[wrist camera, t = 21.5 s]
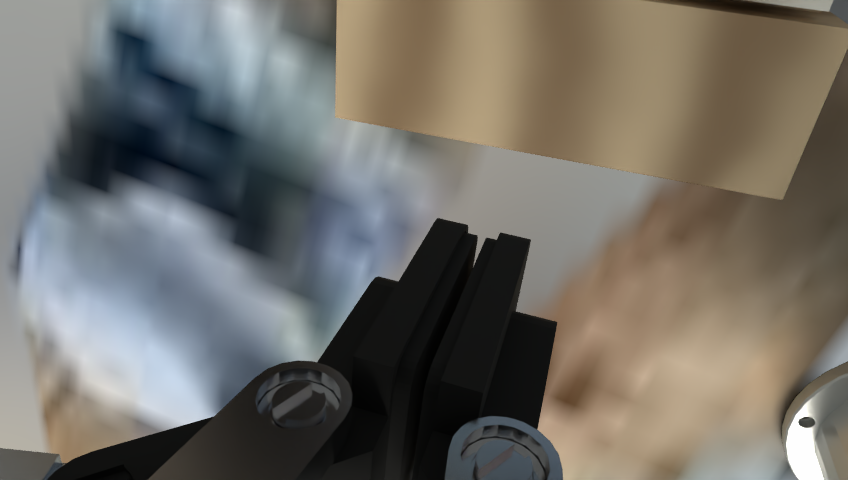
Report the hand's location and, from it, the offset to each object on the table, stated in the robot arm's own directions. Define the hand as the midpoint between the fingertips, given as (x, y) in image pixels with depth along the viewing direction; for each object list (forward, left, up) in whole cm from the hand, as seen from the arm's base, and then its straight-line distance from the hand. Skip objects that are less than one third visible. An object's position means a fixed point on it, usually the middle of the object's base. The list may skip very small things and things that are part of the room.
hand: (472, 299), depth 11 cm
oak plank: (0, 0, -22) cm, 22 cm away
